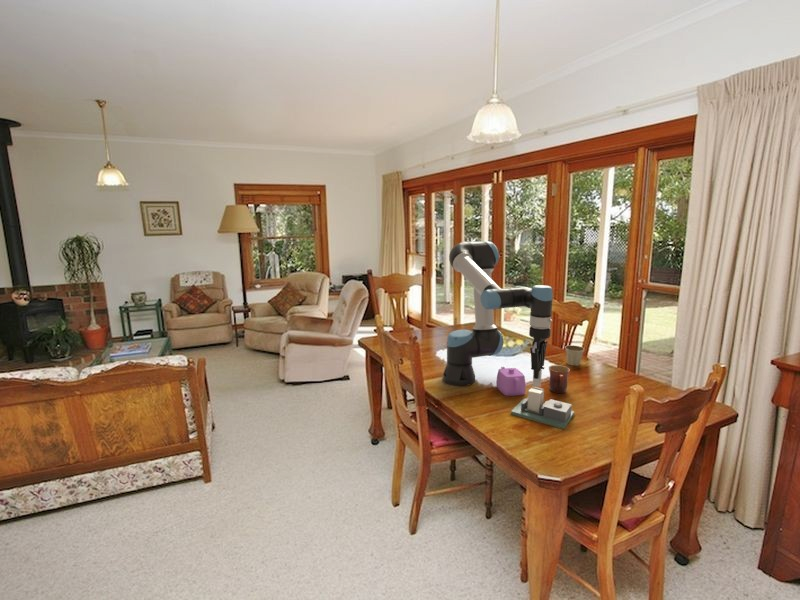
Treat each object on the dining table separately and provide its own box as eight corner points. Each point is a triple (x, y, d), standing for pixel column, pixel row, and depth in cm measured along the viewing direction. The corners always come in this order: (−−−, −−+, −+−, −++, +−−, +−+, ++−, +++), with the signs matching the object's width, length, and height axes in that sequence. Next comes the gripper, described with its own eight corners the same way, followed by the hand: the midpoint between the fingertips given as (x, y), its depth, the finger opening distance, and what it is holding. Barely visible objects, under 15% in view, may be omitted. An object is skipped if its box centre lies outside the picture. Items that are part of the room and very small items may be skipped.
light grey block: (527, 409, 162) (528, 390, 160) (531, 405, 165) (532, 386, 163) (538, 413, 159) (540, 393, 157) (542, 408, 162) (544, 389, 161)
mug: (545, 385, 187) (547, 364, 185) (566, 387, 185) (567, 365, 183) (549, 397, 175) (551, 374, 173) (571, 398, 174) (573, 375, 172)
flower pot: (566, 359, 220) (567, 344, 219) (585, 363, 215) (586, 347, 213) (561, 364, 213) (562, 348, 211) (580, 368, 208) (582, 352, 206)
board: (510, 414, 161) (511, 400, 160) (523, 401, 172) (524, 388, 171) (563, 429, 149) (565, 414, 148) (574, 414, 160) (575, 400, 159)
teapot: (491, 382, 191) (492, 362, 189) (513, 381, 192) (514, 360, 190) (506, 399, 174) (507, 376, 171) (530, 397, 175) (531, 375, 173)
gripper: (544, 332, 148) (540, 393, 152) (555, 324, 158) (551, 382, 163) (524, 328, 152) (521, 388, 157) (536, 321, 163) (532, 378, 167)
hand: (536, 385), depth 160 cm, fingers closed
